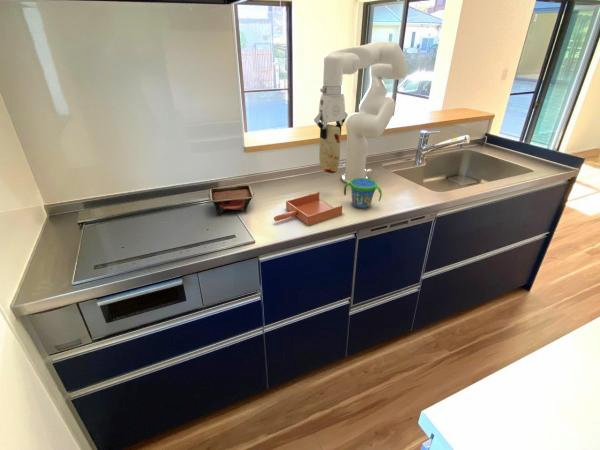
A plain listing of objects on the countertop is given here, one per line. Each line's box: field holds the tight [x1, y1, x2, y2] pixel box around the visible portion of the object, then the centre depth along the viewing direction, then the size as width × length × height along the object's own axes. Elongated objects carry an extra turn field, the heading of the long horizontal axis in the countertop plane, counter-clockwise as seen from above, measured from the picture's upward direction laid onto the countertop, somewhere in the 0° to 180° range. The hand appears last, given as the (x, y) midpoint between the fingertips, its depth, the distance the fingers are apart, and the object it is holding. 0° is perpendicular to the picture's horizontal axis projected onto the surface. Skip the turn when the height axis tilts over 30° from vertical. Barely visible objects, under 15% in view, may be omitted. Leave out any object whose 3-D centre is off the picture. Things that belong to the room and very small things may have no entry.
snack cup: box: [343, 178, 383, 209], centre depth 142 cm, size 16×10×10 cm
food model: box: [318, 123, 341, 174], centre depth 143 cm, size 10×7×20 cm
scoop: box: [273, 191, 343, 226], centre depth 136 cm, size 26×16×4 cm, turn 123°
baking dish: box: [208, 184, 255, 216], centre depth 142 cm, size 14×18×10 cm
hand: (330, 136), depth 140 cm, fingers closed on food model, 6 cm apart
